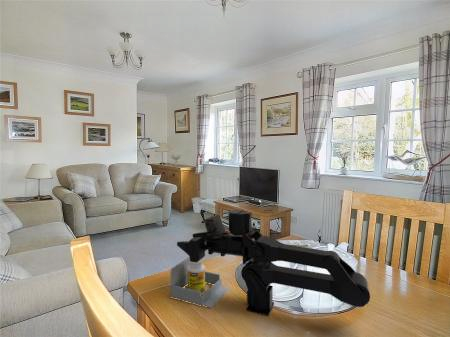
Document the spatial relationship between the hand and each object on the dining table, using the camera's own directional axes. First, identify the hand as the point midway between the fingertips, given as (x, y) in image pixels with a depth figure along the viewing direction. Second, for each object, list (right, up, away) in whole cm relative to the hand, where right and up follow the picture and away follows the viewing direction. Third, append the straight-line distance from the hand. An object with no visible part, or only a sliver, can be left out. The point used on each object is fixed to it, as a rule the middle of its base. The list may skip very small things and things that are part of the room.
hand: (185, 239), depth 86 cm
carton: (+5, -17, -2) cm, 18 cm away
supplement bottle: (+4, -17, -1) cm, 17 cm away
